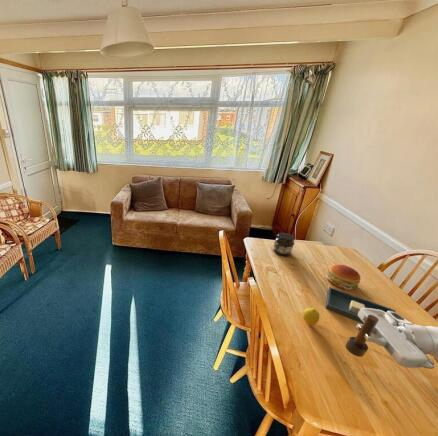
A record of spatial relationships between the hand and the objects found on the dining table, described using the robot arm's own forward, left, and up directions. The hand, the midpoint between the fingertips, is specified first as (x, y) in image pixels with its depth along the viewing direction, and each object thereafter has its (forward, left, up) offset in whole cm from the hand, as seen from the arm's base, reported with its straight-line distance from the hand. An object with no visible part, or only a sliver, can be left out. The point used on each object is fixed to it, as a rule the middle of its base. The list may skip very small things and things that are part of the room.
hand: (361, 332), depth 78 cm
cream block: (-8, -30, -14) cm, 34 cm away
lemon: (+11, -12, -15) cm, 22 cm away
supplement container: (+23, -68, -15) cm, 74 cm away
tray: (-9, -30, -15) cm, 35 cm away
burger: (-5, -50, -15) cm, 53 cm away
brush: (-1, 0, -9) cm, 9 cm away
